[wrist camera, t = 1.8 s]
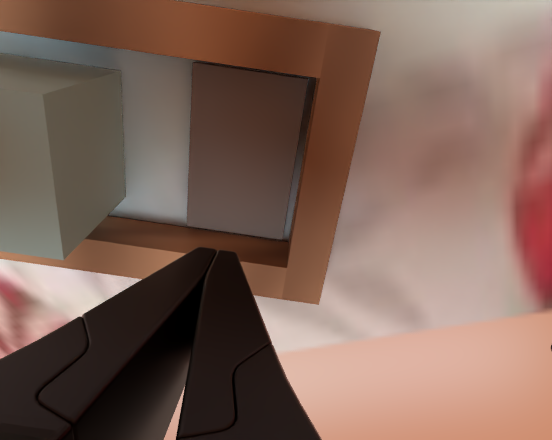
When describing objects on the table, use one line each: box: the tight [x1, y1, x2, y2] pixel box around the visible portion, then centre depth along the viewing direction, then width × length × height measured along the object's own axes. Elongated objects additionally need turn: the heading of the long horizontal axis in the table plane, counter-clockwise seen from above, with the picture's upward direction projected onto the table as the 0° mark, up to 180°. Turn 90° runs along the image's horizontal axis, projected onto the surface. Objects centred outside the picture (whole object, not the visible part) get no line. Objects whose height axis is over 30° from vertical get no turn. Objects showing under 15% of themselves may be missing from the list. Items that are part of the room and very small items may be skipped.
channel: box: [0, 0, 381, 305], centre depth 15 cm, size 16×10×2 cm, turn 83°
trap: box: [187, 61, 308, 240], centre depth 16 cm, size 4×6×1 cm, turn 173°
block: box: [0, 53, 126, 260], centre depth 14 cm, size 5×5×5 cm
